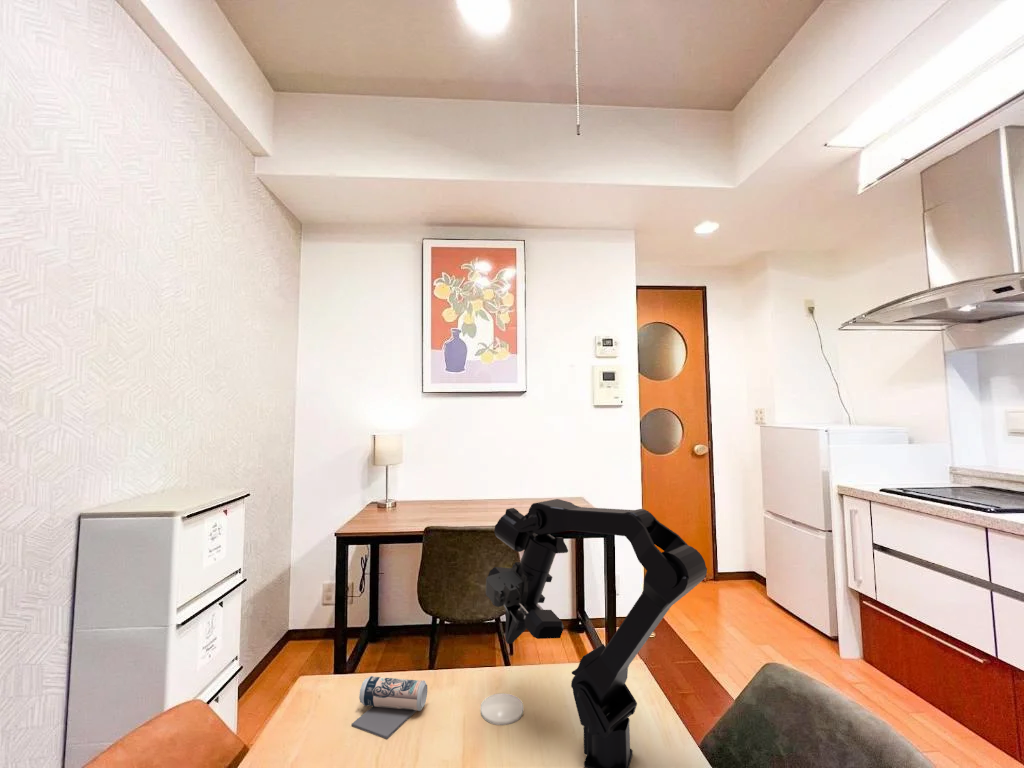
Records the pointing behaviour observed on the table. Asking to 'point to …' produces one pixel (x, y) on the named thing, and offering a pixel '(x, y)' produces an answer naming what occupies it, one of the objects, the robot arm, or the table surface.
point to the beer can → (393, 693)
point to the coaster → (501, 709)
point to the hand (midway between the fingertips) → (508, 642)
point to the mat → (383, 720)
